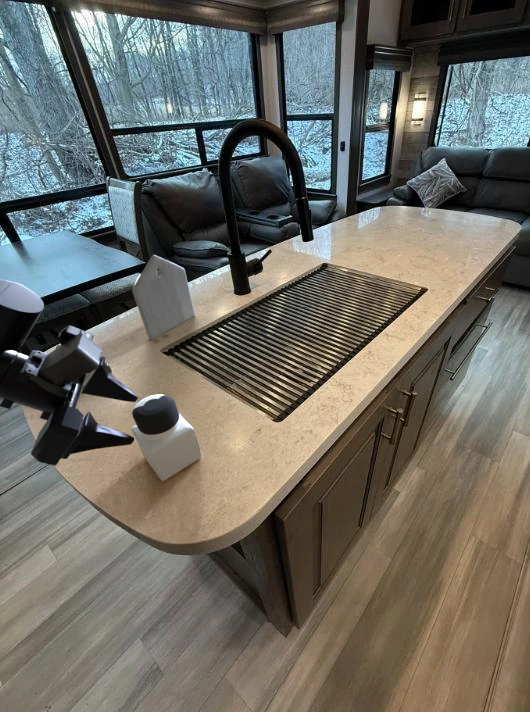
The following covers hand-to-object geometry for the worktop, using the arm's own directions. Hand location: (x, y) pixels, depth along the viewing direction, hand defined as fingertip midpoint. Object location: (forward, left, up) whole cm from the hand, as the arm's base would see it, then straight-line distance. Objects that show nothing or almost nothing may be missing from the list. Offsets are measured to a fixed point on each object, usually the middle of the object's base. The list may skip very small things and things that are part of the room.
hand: (135, 418), depth 49 cm
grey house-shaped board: (+22, +45, -10) cm, 51 cm away
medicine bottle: (+3, -1, -10) cm, 11 cm away
